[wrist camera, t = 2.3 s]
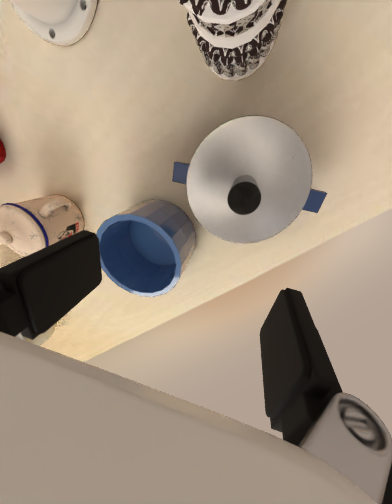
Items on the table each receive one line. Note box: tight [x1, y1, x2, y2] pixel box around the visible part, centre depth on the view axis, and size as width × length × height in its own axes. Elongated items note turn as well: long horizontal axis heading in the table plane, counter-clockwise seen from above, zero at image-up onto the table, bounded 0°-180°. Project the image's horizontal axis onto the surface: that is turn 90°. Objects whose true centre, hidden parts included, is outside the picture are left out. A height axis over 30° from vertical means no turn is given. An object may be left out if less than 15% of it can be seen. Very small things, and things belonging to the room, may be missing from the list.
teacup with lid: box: [0, 195, 84, 257], centre depth 32 cm, size 12×9×12 cm
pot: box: [96, 200, 196, 297], centre depth 31 cm, size 13×13×9 cm
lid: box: [186, 115, 312, 243], centre depth 21 cm, size 14×14×7 cm
